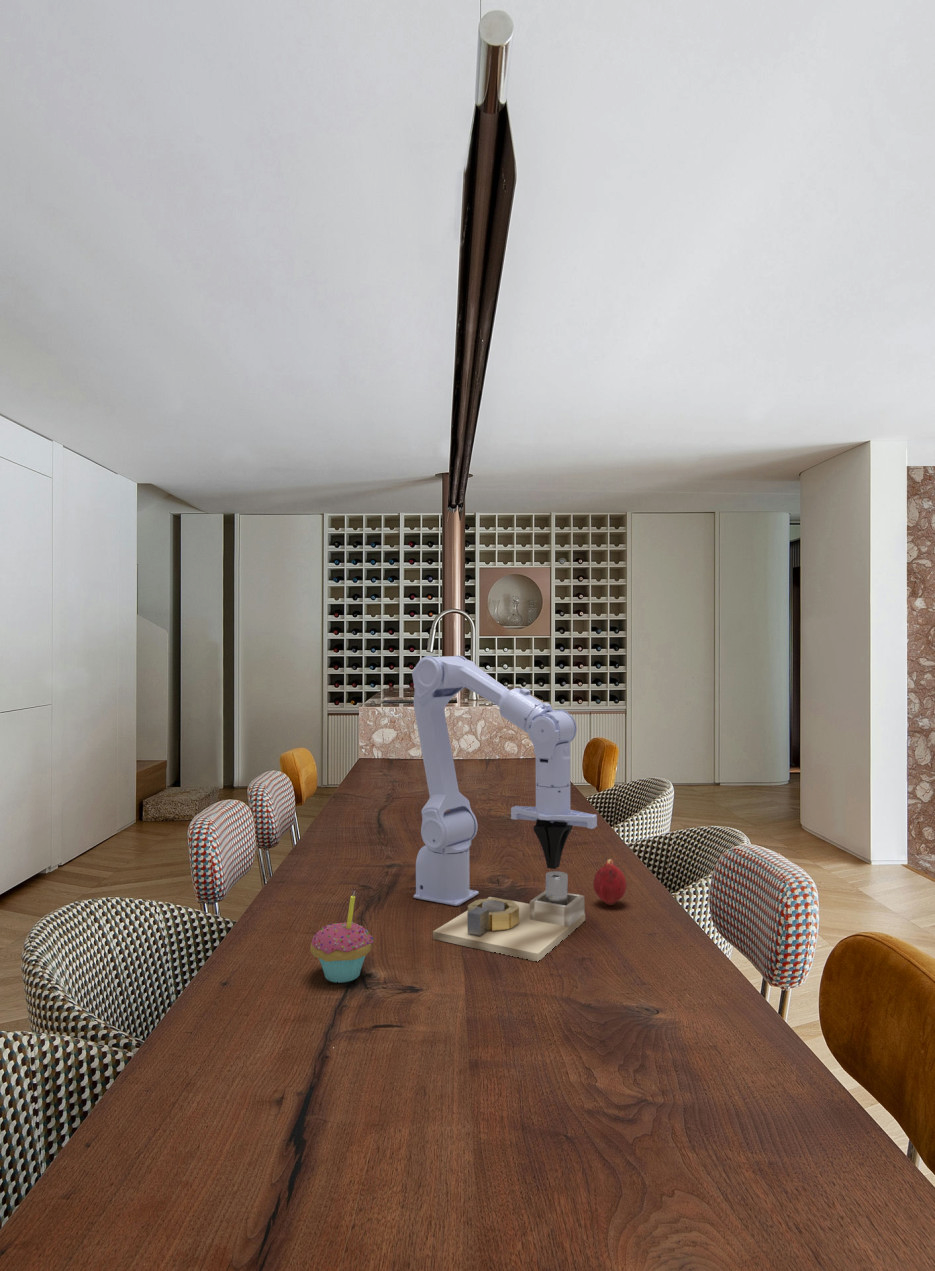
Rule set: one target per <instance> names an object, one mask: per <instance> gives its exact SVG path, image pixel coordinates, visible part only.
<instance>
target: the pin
mask: <svg viewBox="0 0 935 1271" xmlns="http://www.w3.org/2000/svg"><path fill="white" fill-rule="evenodd" d="M568 876H569V875H568V873H567V872H564V871H558V870H557V871H556V870H555V871H548V872H546V873H545V890H546V902H548V903H554V904H560V905H565V906H566V905H568V893H569V885H568V884H569V883H568V882H569V880H568V878H569V877H568Z"/></svg>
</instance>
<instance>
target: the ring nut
mask: <svg viewBox="0 0 935 1271" xmlns="http://www.w3.org/2000/svg"><path fill="white" fill-rule="evenodd" d="M488 898H489V897H488ZM495 898H496V899H495ZM489 900H497V901H502V902H503V903H504V911H498V912H489V909H486V908H482V903H483V902H485V901H489ZM510 900H511V899H505V898H504V899H503V898H500V899H499V898H498V897H494V898H489V899H487V898H479V899H476V900H474V901H472V902H471V903H469V904H468V905H467V910H468V912H467V918H468V933H469V934H473V935H478V936H481V935H482V934H483V933H485V932H486V931H488V930H489V931H490V930H492V931H495V930H505V929H509V928H512V927H514V926H515V925H517V924H518V923H519V906H518V905H517V904H516V903H515V902H514V901H515V900H511V901H510Z"/></svg>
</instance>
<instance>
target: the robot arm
mask: <svg viewBox="0 0 935 1271" xmlns="http://www.w3.org/2000/svg"><path fill="white" fill-rule="evenodd" d="M411 675H412V682H413V687H414V694H413V709H414V714H415V715H414V716H415V720H416V721H415V722H416V726H417V727H416V728H417V733H418V739H419V743H420V744H419V745H420V750H421V754H422V760H423V766H424V773H425V777H426V783H427V788H428V795H429V798H428V799H427V802H426V803H425V804H424V806H423V808H421V812H420V813H421V817H422V818H421V819H422V820H421V827H420V836H421V840H422V841H423V843H424V844H425V845H423V846H422V847H420V849H419V851H418V853H417V856H416V860H415V894H414V895H413V898H415V899H418V900H423V901H429V902H434V903H439V904H445V905H450V906H455V907H457V906H461V905H462V904H464V903H465V902H467V901H469V900H470V899H472V898H474V897H475V896H477V895H478V894H479V891H478V890H474V889H470V847H471V846H472V840H473V839H474V838H475V837H476V835H477V833H478V828H479V826H478V825H479V824H478V820H477V818H476V815H475V813H474V812H473V811H472V808H471V803H470V800H469V799H468V798H467V797H466V796H465V795H463V794H462V793H461V792H460V790H459V784H458V779H457V774H456V773H457V772H456V767H455V762H454V757H453V752H452V745H451V739H450V735H449V728H448V723H447V718H446V712H445V708H446V706H447V705H448V704H449V702H450V701H451V699H453V698H454V697H455V696H456V695H457V694H459V693H460V692H461V691H462V690H463V689H464V688H467V689H468V690H469V691H471V692H473V693H474V694H477V695H479V696H480V697H482V698H484V699H485V700H487V701H489V702H491V703H492V704H494V705H495V706H497V707H498V708H499V709H498V710H499V714H500V716H501V717H502V718H504V719H505V720H507V721H508V722H509V723H512V724H513V725H514V726H516V727H517V728H518V729H520V730H522V731H523V732H525V733H526V734H528V737H529V740H530V742H531V743H532V745H533V751H534V752H533V753H534V755H535V806H523V805H522V806H521V805H515V806H512V807H511V808H510V819H511V820H514V821H515V820H526V821H534V822H536V823H535V825H534V826H533V832H534V834H535V835H536V838H537V839H538V840H539V843H540V846H541V848H542V851H543V855H544V859H545V863H546V868H547V869H552V870H556V869H558V868H559V867H560V865H561V858H562V856H563V855H562V854H563V851H564V847H565V844H566V842H567V840H568V838H569V835H570V833H571V831H572V829H573V827H575V826H576V827H583V828H587V829H590V830H593V829H595V828H597V826H598V814H593V813H587V812H583V811H579V810H574V809H571V742H572V741H574V739H575V737H576V736H577V730H578V728H577V722H576V720H575V718H574V717H573V715H572V714H570V713H569V712H568V711H567V710H566V709H556V710H554V709H553V708H552V705H551V704H550V703H549V702H542V701H541V700H539V699H538V698H536V697H534V696H533V695H531V690H530V689H528V688H520V687H519V688H518V687H516V688H513V689H509V688H508V687H506V686H505V685H503V684H502V683H500V682H499V681H497V680H496V679H495V678H493V677H492V676H491V675H489V674H488V673H487V672H485V671H484V670H482V669H481V668H480V667H479V666H477V665H476V663H475V662H474V661H472V660H469V659H467V658H466V657H465V656H462V655H459V654H458V655H453V656H451V655H450V656H447V655H446V656H433V655H426V656H423V657H422V658H420V659H419V661H418V662H417V663H416V665H415V667H414V669H413V670H412V672H411Z"/></svg>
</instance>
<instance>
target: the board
mask: <svg viewBox="0 0 935 1271" xmlns="http://www.w3.org/2000/svg"><path fill="white" fill-rule="evenodd" d="M489 898H495V899H496V898H497V897H495V896H494V897H493V896H488V897H487V898H486V899H489ZM499 899H501V898H499ZM509 900H510V901H512V900H511V899H509ZM513 901H514V902H515V903H516V904H517V905H518V906H519V923H518V924H517V925H515V926H514V927H512V928H509V929H505V930H495V931H492V930H490V931H489V930H488V931H486V932H485V933H483V934H482V935H481V936H478V935H473V934H469V933H468V918H467V912H468V909H467V910H466V911H464V912H462V913H461V914H459V915H457V916H456V917H453V918H452V919H451V920H449V921H448V922H446V923H444V924H443V925H442V926H439V927H438V928H436V929H435V930H433V931H432V940H434V941H439V942H444V943H450V944H454V945H458V946H463V947H467V948H472V949H477V950H480V951H481V950H482V951H485V952H491V953H494V952H496V953H495V954H499V953H501V954H500V955H503V954H505V955H504V956H508V955H510V956H509V957H512V956H513V958H517V957H519V958H518V959H522V958H523V960H526V959H528V960H527V961H530V962H531V961H532V962H535V961H537V963H539V962H540V961H541V960H543V958H545V957H546V956H547V955H548V954H549V953H551V952H552V949H553V948H554V947H555V946H556V947H557V946H558V945H559V944H561V943H562V942H563V941H564V940H566V939H567V938H568V937H569V936H570V935H571V934H572V933H573V932H574V931H575V929H576V928H577V929H578V928H579V927H580V926H581V925H582V924H584V923H585V922H586V913H585V895H584V894H583V895H582V894H576V893H571V892H568V905H566V906H565V905H560V904H554V903H548V902H546V889H545V890H544V891H543V892H541V893H539V894H538V895H537V896H535V897H534V898H532V899H531V900H529V903H527V902H523V901H522V902H521V901H515V900H513ZM482 908H486V909H489V912H498V911H504V903H503V902H502V901H497V900H489V901H485V902H483V903H482ZM584 921H585V922H584ZM583 922H584V923H583ZM577 929H576V930H577ZM568 935H569V936H568ZM562 940H563V941H562ZM561 941H562V942H561ZM560 942H561V943H560ZM556 947H555V948H556ZM555 948H554V949H555ZM554 949H553V950H554ZM547 953H548V954H547ZM546 954H547V955H546ZM545 955H546V956H545ZM539 960H540V961H539ZM538 961H539V962H538Z"/></svg>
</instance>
